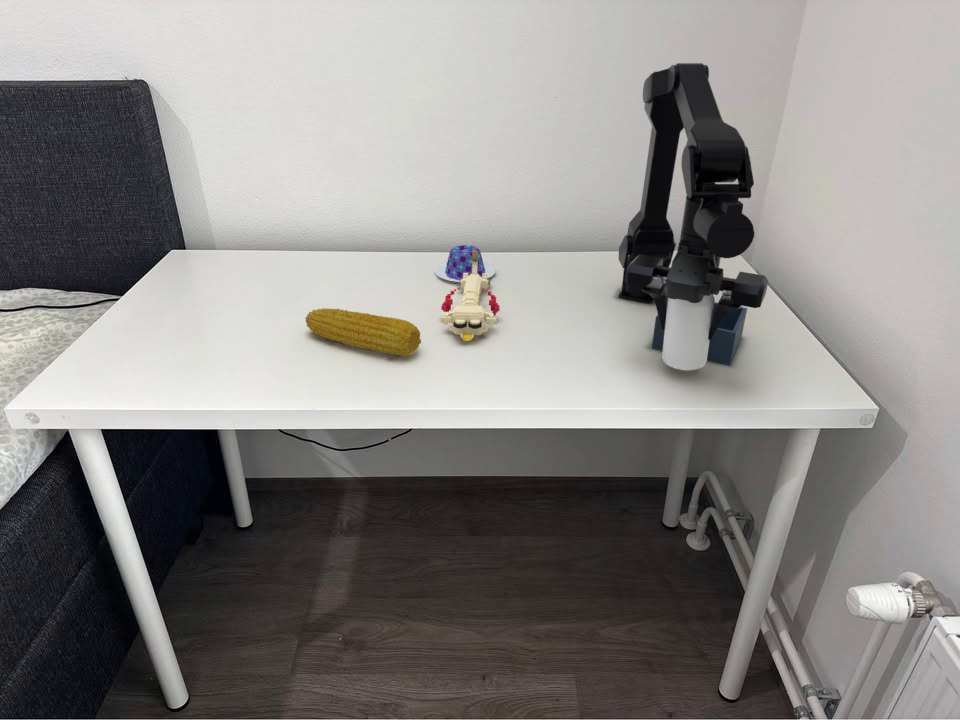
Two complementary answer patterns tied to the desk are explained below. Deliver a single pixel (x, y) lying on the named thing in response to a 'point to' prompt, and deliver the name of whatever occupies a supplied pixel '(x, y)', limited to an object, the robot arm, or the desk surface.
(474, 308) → the cream brick animal figure
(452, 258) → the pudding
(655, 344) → the bin
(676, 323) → the can
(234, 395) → the desk surface
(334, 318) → the food
